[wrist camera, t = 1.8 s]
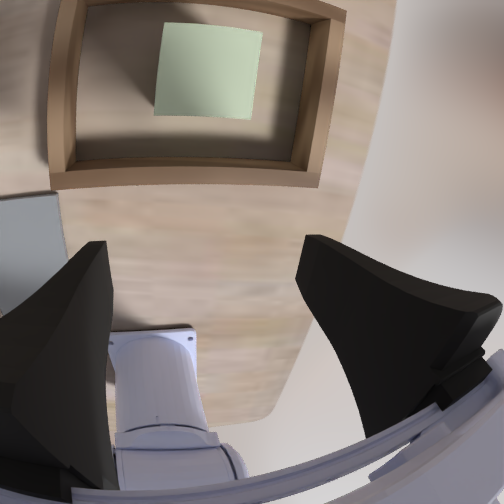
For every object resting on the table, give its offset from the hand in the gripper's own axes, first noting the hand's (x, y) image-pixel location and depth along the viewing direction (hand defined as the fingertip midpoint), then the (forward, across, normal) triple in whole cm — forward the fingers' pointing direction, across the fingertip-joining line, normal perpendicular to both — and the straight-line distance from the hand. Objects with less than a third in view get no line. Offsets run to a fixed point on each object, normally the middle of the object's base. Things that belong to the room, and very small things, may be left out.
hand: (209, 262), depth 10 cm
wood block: (+10, 0, -7) cm, 12 cm away
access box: (+10, 0, -7) cm, 12 cm away
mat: (+9, +12, +5) cm, 17 cm away
